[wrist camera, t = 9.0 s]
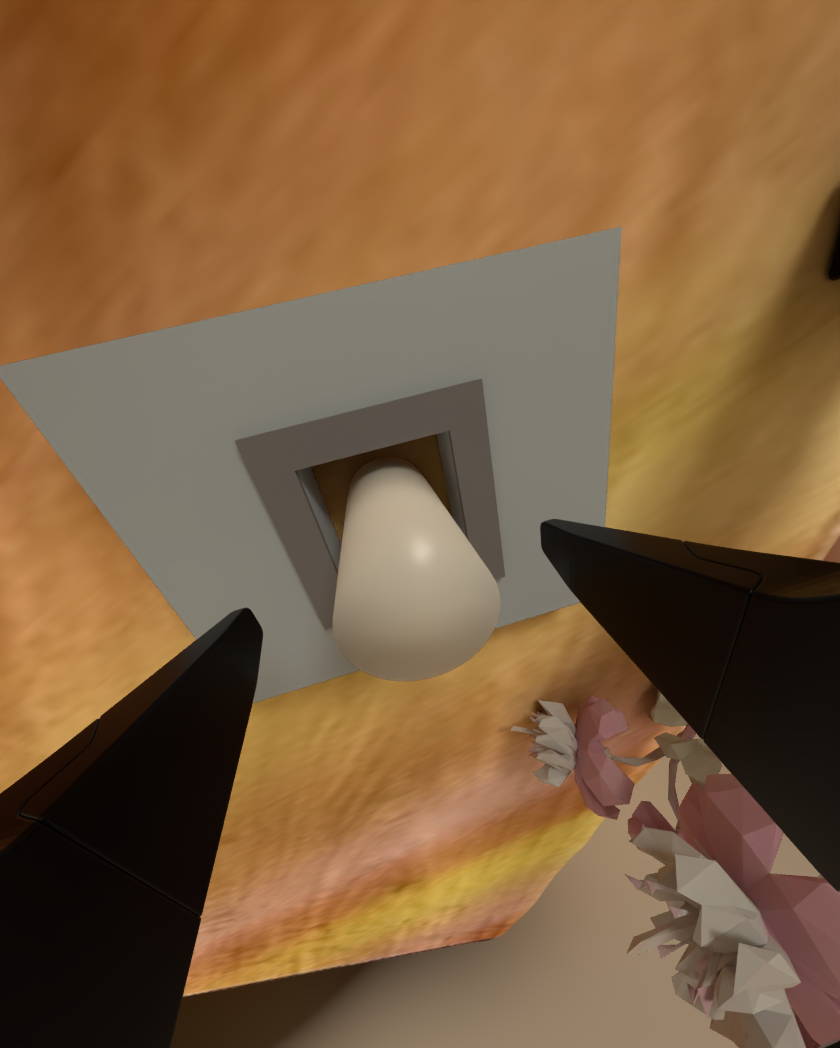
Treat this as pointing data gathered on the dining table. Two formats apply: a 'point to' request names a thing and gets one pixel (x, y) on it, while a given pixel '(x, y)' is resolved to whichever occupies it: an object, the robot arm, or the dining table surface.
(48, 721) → the dining table surface
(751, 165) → the dining table surface
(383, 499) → the peg
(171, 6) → the dining table surface
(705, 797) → the flower
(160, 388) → the socket plate
